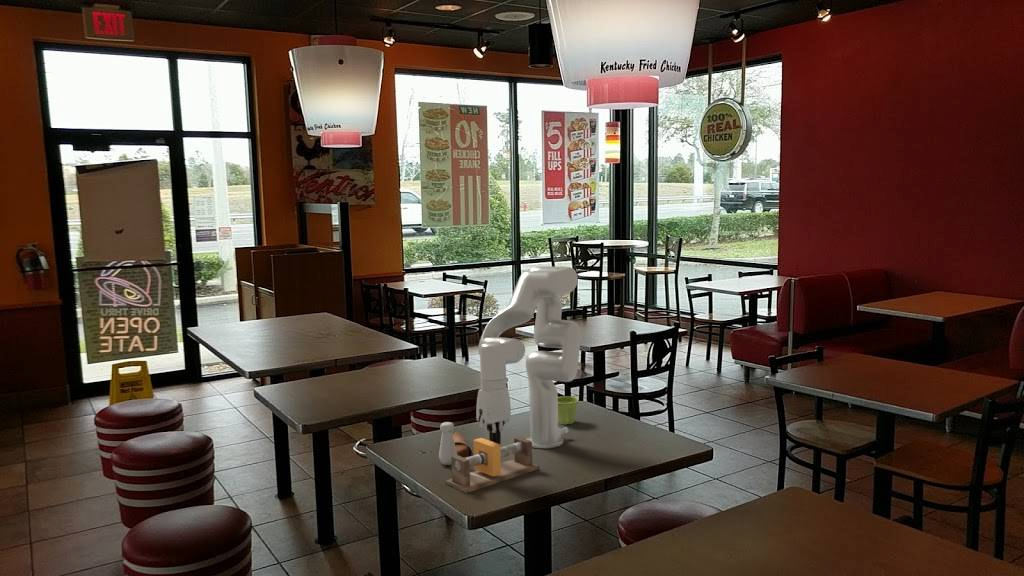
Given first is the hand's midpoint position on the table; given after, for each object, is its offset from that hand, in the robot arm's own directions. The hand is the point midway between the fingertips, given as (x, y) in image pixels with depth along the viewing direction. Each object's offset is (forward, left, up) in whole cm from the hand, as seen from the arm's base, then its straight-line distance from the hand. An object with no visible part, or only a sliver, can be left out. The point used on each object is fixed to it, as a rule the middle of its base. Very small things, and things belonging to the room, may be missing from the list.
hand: (495, 444), depth 223 cm
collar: (+3, 0, -8) cm, 8 cm away
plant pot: (-53, -24, -10) cm, 59 cm away
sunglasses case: (-6, -29, -10) cm, 31 cm away
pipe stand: (+1, 0, -10) cm, 10 cm away
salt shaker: (+4, -19, -10) cm, 22 cm away
